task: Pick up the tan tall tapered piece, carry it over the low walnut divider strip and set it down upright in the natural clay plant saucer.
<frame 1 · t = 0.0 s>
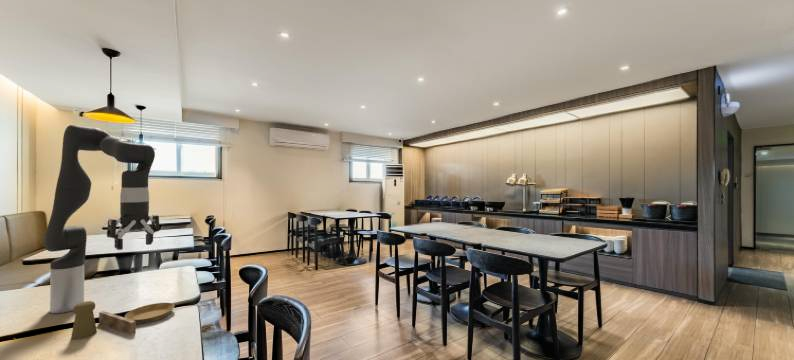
hand: (134, 246, 104), 29 cm above the table, fingers open, 8 cm apart
walnut divider wall: (116, 327, 106), on the table
plant saucer: (150, 317, 115), on the table
tan tall tapered piece: (84, 335, 101), on the table
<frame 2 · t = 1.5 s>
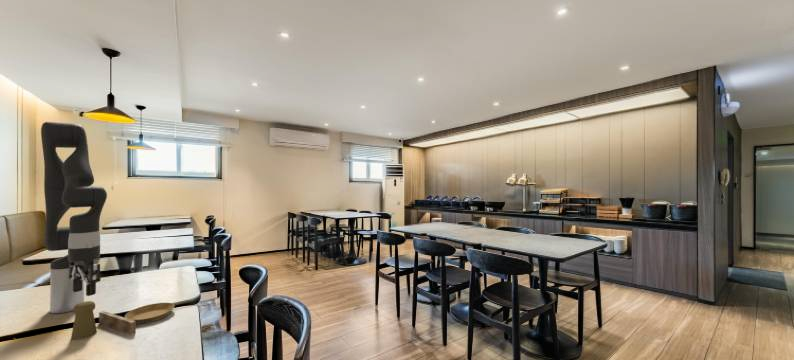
hand: (84, 293, 101), 14 cm above the table, fingers open, 8 cm apart
nothing on the table moved.
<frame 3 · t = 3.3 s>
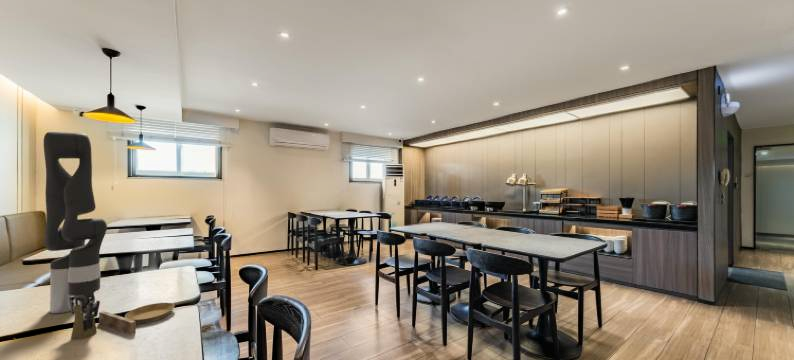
hand: (84, 328, 101), 2 cm above the table, fingers closed on tan tall tapered piece, 4 cm apart
tan tall tapered piece: (84, 335, 101), on the table, touching gripper
everything else where it was.
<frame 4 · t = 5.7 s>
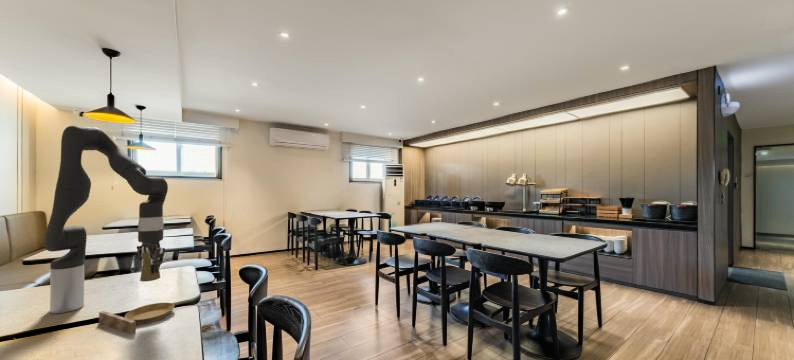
hand: (150, 272, 115), 17 cm above the table, fingers closed on tan tall tapered piece, 4 cm apart
tan tall tapered piece: (150, 279, 115), point 14 cm above the table, touching gripper
everything else where it was.
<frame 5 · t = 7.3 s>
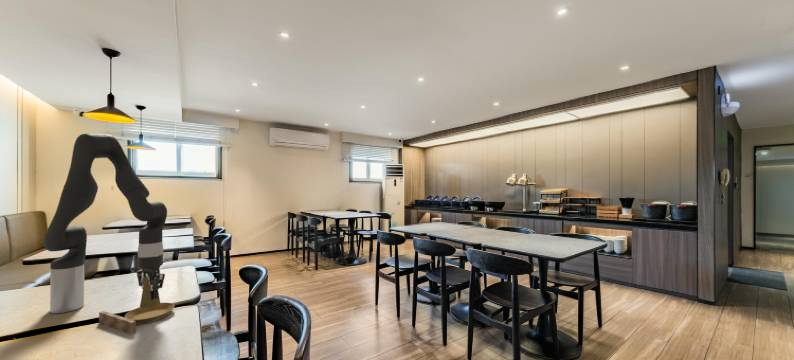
hand: (150, 298, 115), 7 cm above the table, fingers closed on tan tall tapered piece, 4 cm apart
tan tall tapered piece: (150, 304, 115), point 5 cm above the table, touching gripper
everything else where it was.
when the fingers open (5 cm above the table, at t = 8.2 s): tan tall tapered piece stays where it is, resting on plant saucer.
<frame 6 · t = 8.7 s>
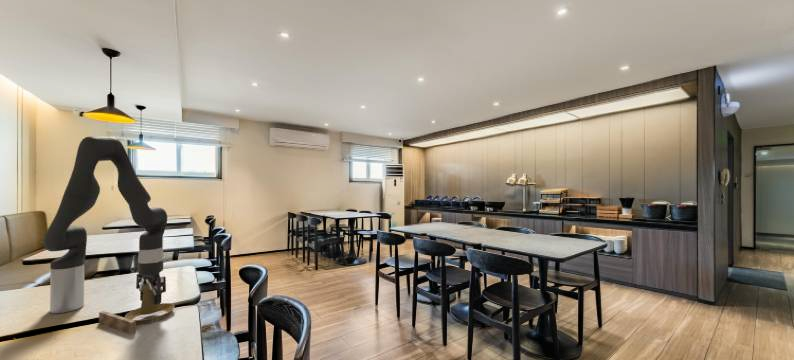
hand: (150, 302, 115), 6 cm above the table, fingers open, 8 cm apart
plant saucer: (150, 318, 115), on the table, touching tan tall tapered piece
tan tall tapered piece: (150, 311, 115), point 2 cm above the table, touching plant saucer
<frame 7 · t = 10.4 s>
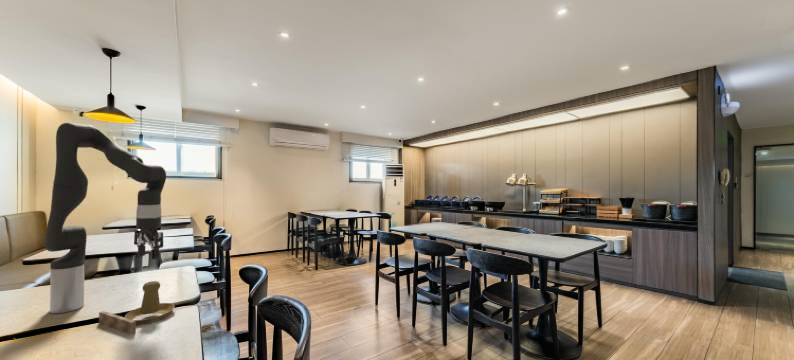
hand: (148, 257, 117), 22 cm above the table, fingers open, 8 cm apart
nothing on the table moved.
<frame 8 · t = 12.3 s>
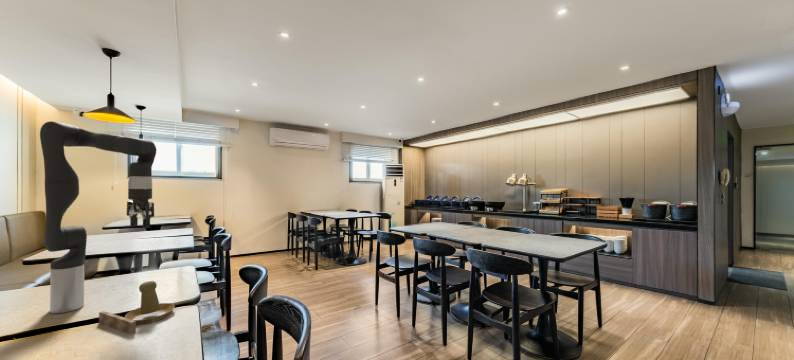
hand: (140, 227, 123), 33 cm above the table, fingers open, 8 cm apart
at the end: tan tall tapered piece 0.1 cm from the plant saucer (horizontally); tan tall tapered piece tilted 6°; the gripper is holding nothing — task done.
